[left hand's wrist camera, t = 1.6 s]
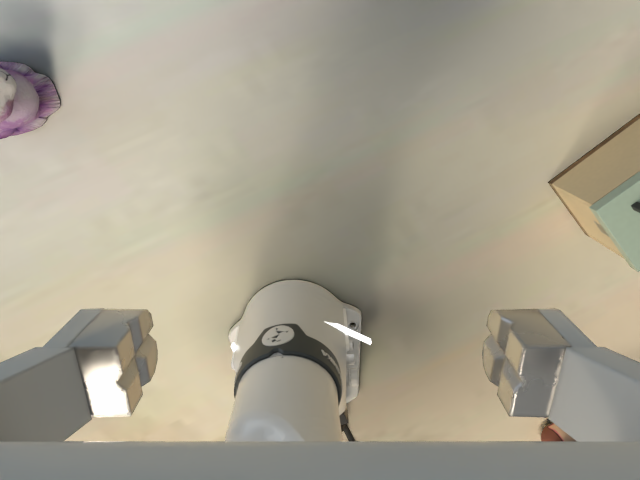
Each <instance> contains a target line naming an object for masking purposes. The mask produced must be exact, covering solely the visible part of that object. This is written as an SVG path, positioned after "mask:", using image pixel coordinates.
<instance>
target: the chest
mask: <svg viewBox="0 0 640 480" xmlns="http://www.w3.org/2000/svg"><path fill="white" fill-rule="evenodd" d="M639 171H640V114H639V115H638V116H636V117H635V118H634V119H632V120H631V121H630V122H628V123H627V124H626V125H624V126H623V127H621V128H620V129H619V130H617V131H616V132H615V133H613V134H612V135H611V136H609V137H608V138H607V139H605V140H604V141H603V142H601V143H600V144H599V145H597V146H596V147H595V148H593V149H592V150H591V151H589V152H588V153H587V154H585V155H584V156H583V157H581V158H580V159H579V160H577V161H576V162H575V163H573V164H572V165H571V166H569V167H568V168H567V169H565V170H564V171H563V172H561V173H560V174H559V175H557V176H556V177H555V178H553V179H552V180H551V181H549V182H548V183H549V184H550V186H551V187H552V189H553V190H554V191H555V193H556V194H557V195H558V197H559V198H560V200H561V201H562V202H563V204H564V205H565V207H566V208H567V209H568V211H569V212H570V214H571V215H572V216H573V218H574V219H575V220H576V222H577V223H578V225H579V226H580V227H581V229H582V230H583V232H584V233H585V234H586V235H587V236H589V237H591V238H593V239H594V240H596V241H597V242H599V243H600V244H602V245H604V246H605V247H607V248H608V249H610V250H611V251H613V252H615V253H616V254H618V255H619V256H621V257H623V256H622V254H621V253H620V251H619V250H618V248H617V247H616V246H615V244H614V243H613V241H612V240H611V238H610V237H609V236H608V234H607V233H606V231H605V230H604V228H603V227H602V226H601V224H600V223H599V221H598V220H597V218H596V217H595V216H594V214H593V213H592V211H591V210H590V208H589V207H590V206H592V205H593V204H594V203H596V202H597V201H599V200H600V199H601V198H603V197H604V196H606V195H607V194H608V193H610V192H611V191H613V190H614V189H615V188H617V187H618V186H620V185H621V184H623V183H624V182H625V181H627V180H628V179H630V178H631V177H632V176H634V175H635V174H637V173H638V172H639ZM623 258H624V257H623ZM624 259H625V258H624Z"/></svg>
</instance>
